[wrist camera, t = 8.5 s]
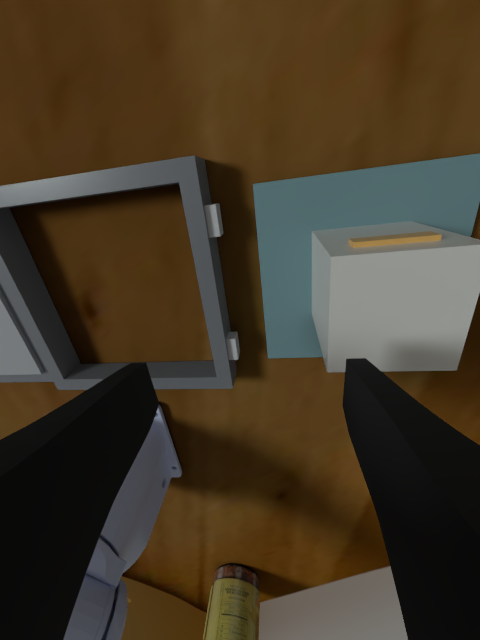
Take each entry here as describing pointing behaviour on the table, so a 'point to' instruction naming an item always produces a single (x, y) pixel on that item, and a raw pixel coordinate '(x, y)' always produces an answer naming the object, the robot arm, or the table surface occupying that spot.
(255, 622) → the sauce bottle
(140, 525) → the robot arm
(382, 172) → the mat
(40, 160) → the table surface
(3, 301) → the case
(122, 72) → the table surface
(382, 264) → the block
